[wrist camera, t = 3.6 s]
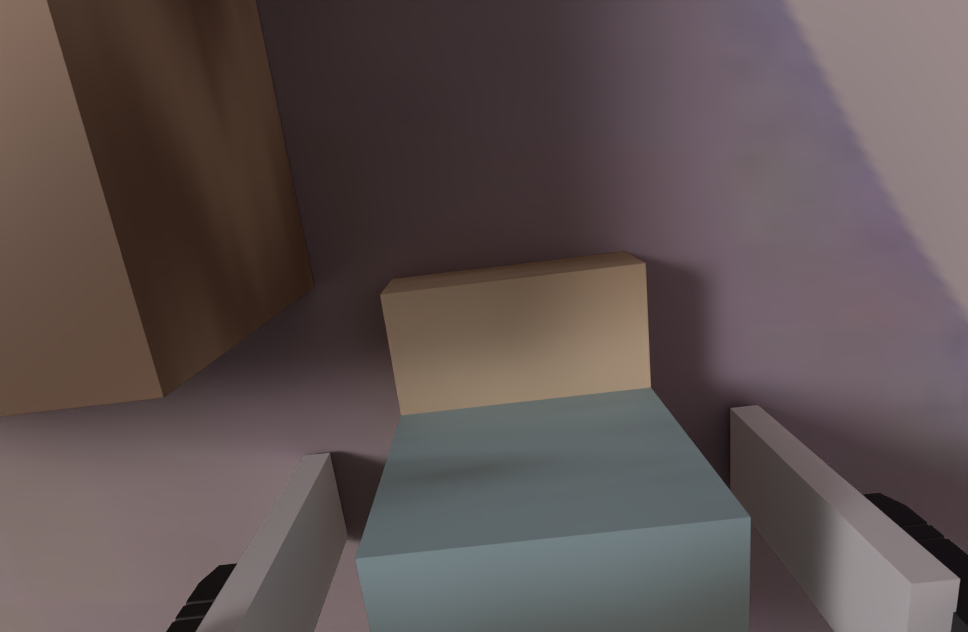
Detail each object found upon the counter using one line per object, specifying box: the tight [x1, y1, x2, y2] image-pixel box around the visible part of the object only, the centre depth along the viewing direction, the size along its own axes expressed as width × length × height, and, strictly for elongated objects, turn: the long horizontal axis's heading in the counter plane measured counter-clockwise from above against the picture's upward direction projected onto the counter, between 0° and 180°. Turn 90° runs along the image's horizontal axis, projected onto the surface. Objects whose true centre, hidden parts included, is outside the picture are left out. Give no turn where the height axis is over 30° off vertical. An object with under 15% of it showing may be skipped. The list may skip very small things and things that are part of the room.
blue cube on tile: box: [355, 251, 751, 632], centre depth 12 cm, size 12×6×7 cm, turn 7°
